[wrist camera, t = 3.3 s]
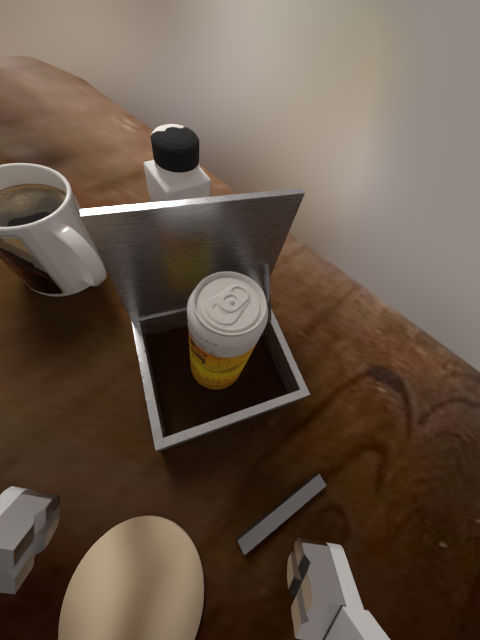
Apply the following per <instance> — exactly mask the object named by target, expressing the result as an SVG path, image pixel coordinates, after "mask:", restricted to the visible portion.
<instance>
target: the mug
mask: <svg viewBox="0 0 480 640" xmlns="http://www.w3.org/2000/svg"><path fill="white" fill-rule="evenodd" d="M80 209H81V207H80V205H79V203H78V201H77V199H76V196H75V194H74V192H73V190H72V188H71V186H70V184H69V182H68V181H67V179H66V178H65V177H64V176H63V175H61V174H60V173H59V172H57V171H55V170H53V169H51V168H48V167H45V166H42V165H37V164H30V163H11V164H3V165H0V259H1V260H2V261H3V262H4V263H5V264H6V265H7V266H8V267H9V268H10V269H11V270H12V271H13V272H14V273H15V274H16V275H17V276H18V277H19V278H20V279H21V280H22V281H23V282H24V283H25V284H26V285H27V286H28V287H29V288H31V289H32V290H34V291H35V292H37V293H40V294H43V295H48V296H67V295H72V294H75V293H78V292H80V291H83V290H85V289H86V288H88V287H89V286H99V285H100V284H101V283H102V282H103V281H105V280H106V277H107V276H106V270H105V267H104V263H103V261H102V259H101V257H100V255H99V253H98V251H97V249H96V247H95V245H94V243H93V241H92V239H91V237H90V235H89V233H88V231H87V228H86V226H85V224H84V222H83V220H82V218H81V216H80Z"/></svg>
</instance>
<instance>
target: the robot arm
mask: <svg viewBox="0 0 480 640" xmlns="http://www.w3.org/2000/svg"><path fill="white" fill-rule="evenodd" d="M59 504H60V495H54V494H49V493H44V492H39V491H33V490H29V489H24V488H18V487H13V486H11V487H10V488H8V489H7V490H5V491H4V492H3V493H2V494H1V495H0V592H1V593H9V594H15V593H16V592H17V590H18V589H19V587H20V586H21V584H22V583H23V581H24V580H25V578H26V577H27V575H28V574H29V572H30V571H31V569H32V568H33V566H34V556H35V555H36V554H38V553H39V552H41V551H42V550H43V549H45V548H46V546H47V544H48V543H49V541H50V540H51V538H52V536H53V534H54V532H55V530H56V528H57V525H58V522H59V516H60V513H59V511H58V510H57V509H56V508H57V507H58V505H59ZM294 546H295V551H293V552H292V553H290V556H289V559H288V565H287V580H288V588H289V591H290V592H291V594H292V596H293V597H294V602H293V604H292V607H291V611H292V618H293V625H294V632H295V638H298V639H303V640H390V639H389V638H388V636H387V635H386V633H385V632H384V631H383V629H382V628H381V627H380V625H379V624H378V623H377V621H376V620H375V619H374V617H373V616H372V615H371V613H370V612H369V611H367V610H364V608H363V605H362V602H361V599H360V596H359V593H358V591H357V588H356V585H355V582H354V579H353V576H352V573H351V570H350V567H349V564H348V561H347V558H346V555H345V552H344V549H343V548H342V546H341V545H338V544H332V543H326V542H323V541H317V540H310V539H304V538H297V539H296V541H295V543H294Z"/></svg>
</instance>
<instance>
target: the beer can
mask: <svg viewBox="0 0 480 640" xmlns="http://www.w3.org/2000/svg"><path fill="white" fill-rule="evenodd" d="M187 319H188V334H189V350H190V365H191V371H192V374H193V376H194V378H195V379H196V381H197V382H198V383H199V384H201V385H202V386H204V387H206V388H209V389H214V390H219V389H224V388H227V387H229V386H230V385H232V384H233V383H234V382H235V381H236V380H237V379H238V377H239V375H240V373H241V371H242V370H243V368H244V366H245V364H246V362H247V360H248V359H249V357H250V355H251V353H252V351H253V349H254V347H255V346H256V344H257V342H258V340H259V338H260V336H261V334H262V333H263V331H264V329H265V327H266V324H267V321H268V307H267V303H266V298H265V295H264V293H263V291H262V289H261V288H260V287H259V285H258V284H257V283H256V282H255V281H253V280H252V279H251V278H249V277H247V276H245V275H243V274H240V273H236V272H227V271H226V272H218V273H214V274H211V275H209V276H207V277H206V278H204V279H203V280H202V281H201V282H200V283H199V284H198V285H197V287H196V288H195V289H194V291H193V292H192V293H191V295H190V297H189V300H188V304H187Z"/></svg>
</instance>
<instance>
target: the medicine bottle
mask: <svg viewBox="0 0 480 640" xmlns="http://www.w3.org/2000/svg"><path fill="white" fill-rule="evenodd" d="M151 143H152V150H153V157H154V160H151V161H147V162H144V169H145V175H146V180H147V186H148V191H149V197H150V202H162V201H172V200H183V199H193V198H204V197H210V192H211V179H210V178H209V177H208V176H207V175H206V174H205V172H204V171H203V170H202V169H201V168H200V167H199V139H198V137H197V135H196V134H195V133H194V132H193V131H192V130H191V129H189V128H187V127H184V126H181V125H177V124H167V125H162V126H159V127H157V128H156V129H155V130H154V131H153V132H152V134H151Z"/></svg>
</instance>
